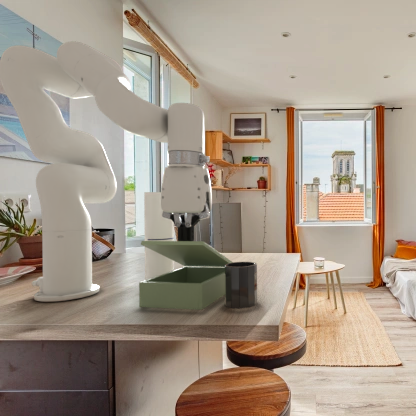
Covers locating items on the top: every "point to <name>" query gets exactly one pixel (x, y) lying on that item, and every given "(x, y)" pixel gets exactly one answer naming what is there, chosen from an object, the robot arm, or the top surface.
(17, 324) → the top surface
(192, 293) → the open green box
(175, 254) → the lid
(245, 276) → the cup
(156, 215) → the cylindrical container
